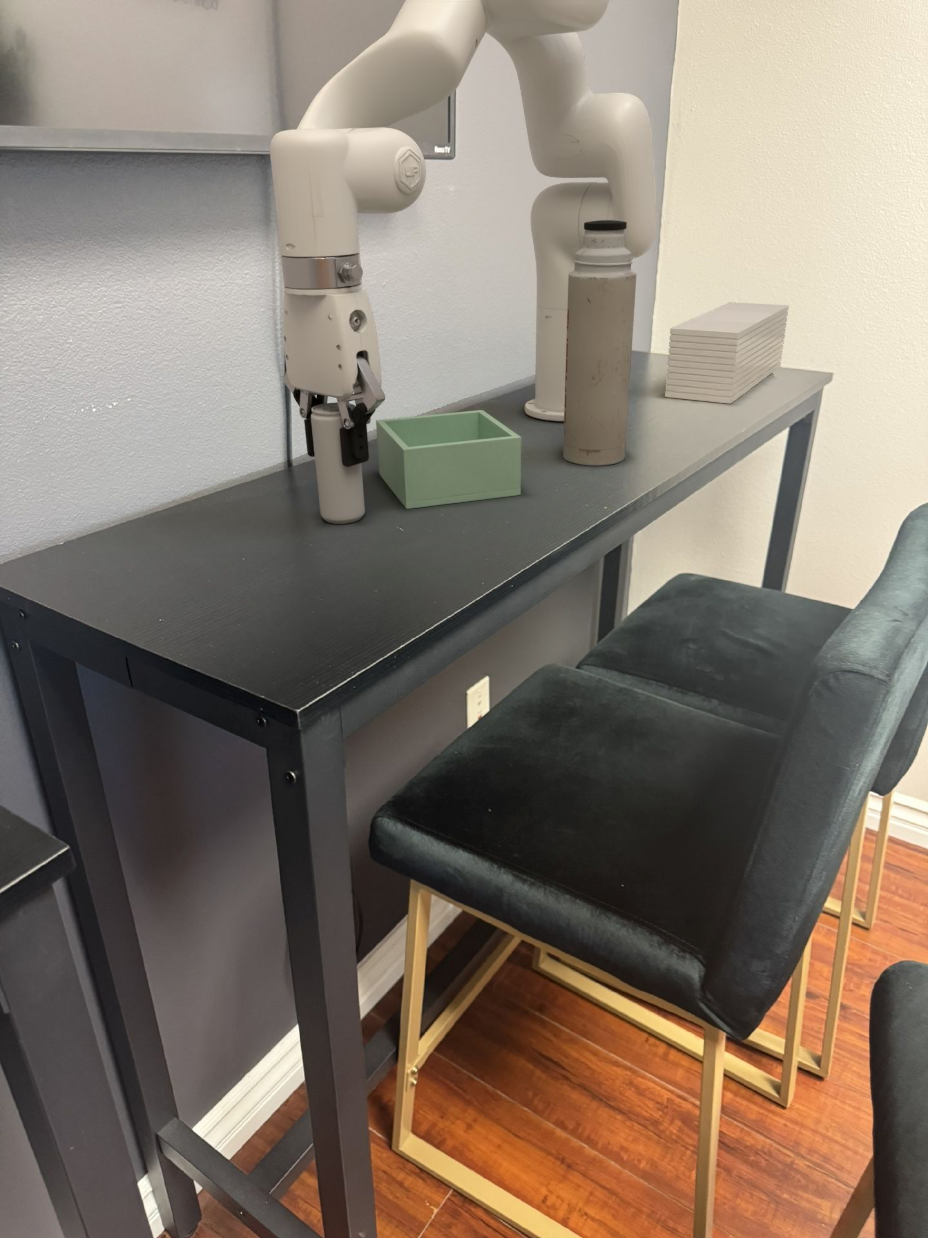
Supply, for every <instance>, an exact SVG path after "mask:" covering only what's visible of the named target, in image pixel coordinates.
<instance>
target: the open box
mask: <svg viewBox="0 0 928 1238" xmlns="http://www.w3.org/2000/svg"><path fill="white" fill-rule="evenodd" d="M375 426H376V427H375V428H376V441H377V442H376V443H377V444H376V445H377V458H378V474H379V476H380V477H381V478H382V480H383V481H384V482H385V484H386V485H387V486H388V487H389V489H390V490H391V492H392V493H393V494H394V496H395V497H396V498H397V499H398V500H399V501H400V504H402V506H403V507H404V508H405V509H406V510H410V509H418V508H425V507H426V508H427V507H436V506H442V505H451V504H456V503H457V504H458V503H466V502H474V501H483V500H490V499H499V498H508V497H514V496H515V497H516V496H521V494H522V492H521V491H522V437H521V436H520V435H519V434H517V433H516V432H515V431H513V430H512V429H510V428H509V427H508V426H506V425H505V424H503V423H501V422H500V421H499V420H497V419H496V418H494V417H493V415H490V414H489V413H487V412H486V411H485V410H483V409H477V410H467V411H456V412H446V413H436V414H435V413H434V414H425V415H416V416H405V417H394V418H385V419H376V420H375Z"/></svg>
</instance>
